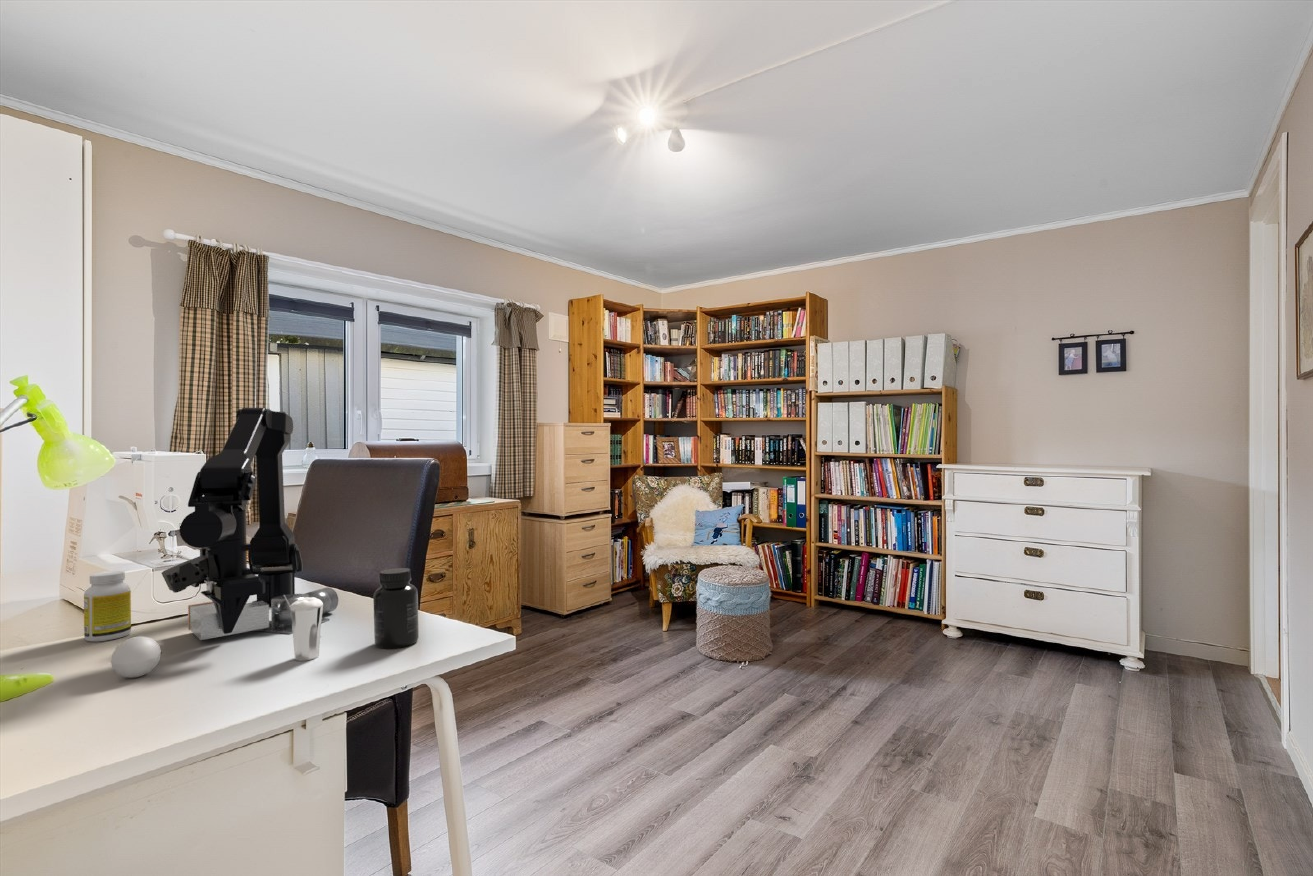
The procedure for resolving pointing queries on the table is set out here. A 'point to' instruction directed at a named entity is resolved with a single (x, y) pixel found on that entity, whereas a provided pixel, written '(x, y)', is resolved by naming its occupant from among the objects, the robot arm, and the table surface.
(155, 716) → the table surface
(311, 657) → the milkshake
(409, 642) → the supplement bottle
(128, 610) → the pill bottle
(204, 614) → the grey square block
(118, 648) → the white egg
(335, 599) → the duct stub
